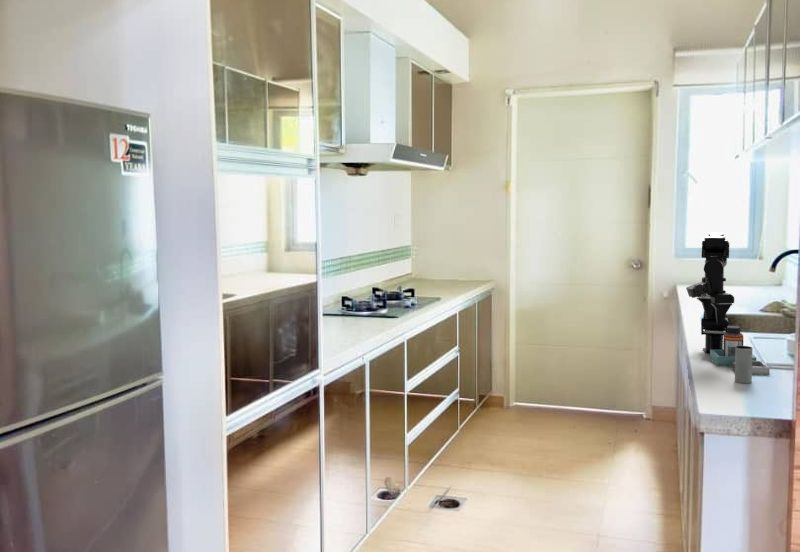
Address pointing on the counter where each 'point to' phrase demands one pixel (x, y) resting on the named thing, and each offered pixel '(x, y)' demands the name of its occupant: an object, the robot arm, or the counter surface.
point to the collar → (755, 367)
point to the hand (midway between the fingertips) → (713, 321)
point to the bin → (722, 358)
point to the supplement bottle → (732, 340)
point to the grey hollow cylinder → (743, 364)
